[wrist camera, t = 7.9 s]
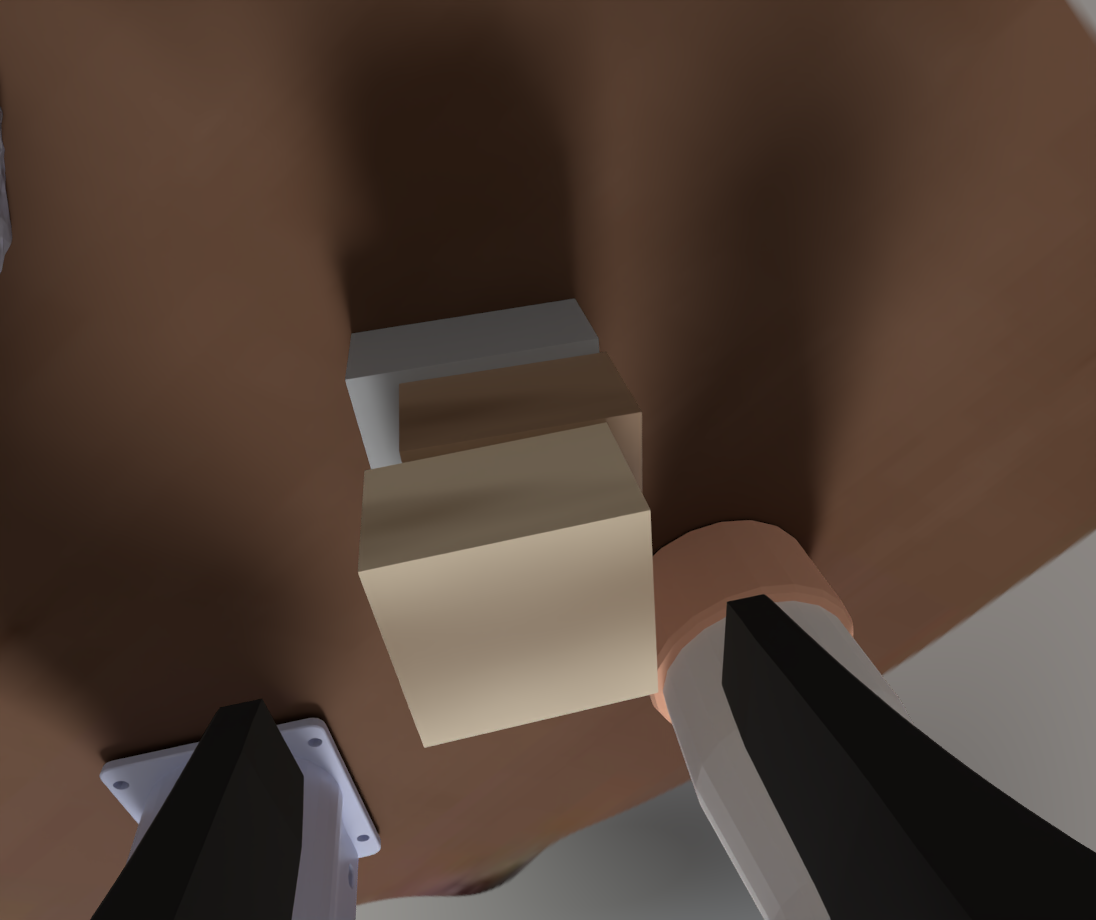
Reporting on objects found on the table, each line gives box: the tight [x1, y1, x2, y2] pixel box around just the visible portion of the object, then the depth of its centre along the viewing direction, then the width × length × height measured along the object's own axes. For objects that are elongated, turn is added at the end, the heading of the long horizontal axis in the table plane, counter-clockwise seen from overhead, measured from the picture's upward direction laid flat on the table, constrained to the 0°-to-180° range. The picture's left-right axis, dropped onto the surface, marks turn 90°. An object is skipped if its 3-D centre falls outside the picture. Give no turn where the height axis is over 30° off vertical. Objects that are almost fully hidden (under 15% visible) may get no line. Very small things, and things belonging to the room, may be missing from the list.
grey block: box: [345, 299, 599, 469], centre depth 19 cm, size 6×6×3 cm
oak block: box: [358, 422, 658, 748], centre depth 14 cm, size 5×5×3 cm
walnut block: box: [399, 352, 642, 492], centre depth 17 cm, size 5×5×3 cm
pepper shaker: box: [650, 520, 914, 920], centre depth 18 cm, size 7×7×19 cm
